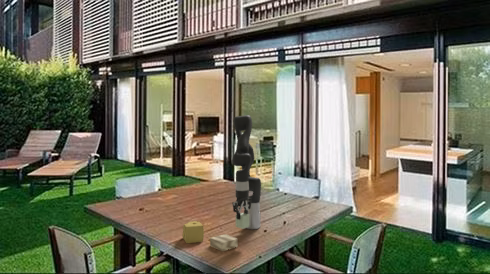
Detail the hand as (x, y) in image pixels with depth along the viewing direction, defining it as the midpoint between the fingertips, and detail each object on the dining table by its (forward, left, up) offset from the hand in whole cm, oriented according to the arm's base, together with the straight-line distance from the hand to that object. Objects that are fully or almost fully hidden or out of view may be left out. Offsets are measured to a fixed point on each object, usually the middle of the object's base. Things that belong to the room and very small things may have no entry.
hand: (242, 217), depth 220 cm
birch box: (+8, -6, -16) cm, 19 cm away
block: (0, 0, -5) cm, 5 cm away
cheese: (+13, -27, -16) cm, 34 cm away
